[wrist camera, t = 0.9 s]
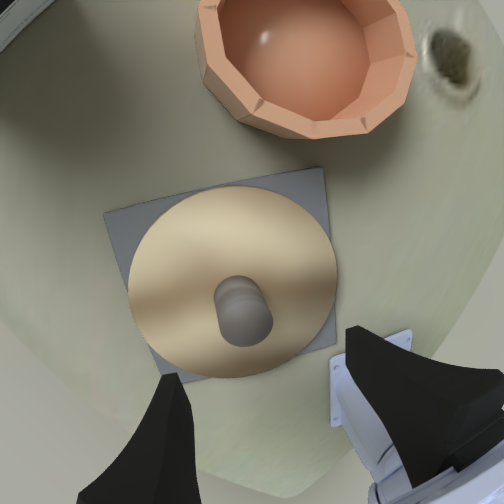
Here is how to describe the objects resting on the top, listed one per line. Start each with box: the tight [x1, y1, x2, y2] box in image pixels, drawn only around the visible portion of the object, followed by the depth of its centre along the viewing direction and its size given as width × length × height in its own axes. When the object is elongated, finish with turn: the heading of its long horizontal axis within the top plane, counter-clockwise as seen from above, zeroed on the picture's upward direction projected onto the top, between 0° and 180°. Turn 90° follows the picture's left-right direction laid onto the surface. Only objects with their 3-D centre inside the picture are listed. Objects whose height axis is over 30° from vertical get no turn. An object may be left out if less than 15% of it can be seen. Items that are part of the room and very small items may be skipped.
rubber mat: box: [103, 167, 336, 383], centre depth 20 cm, size 13×13×1 cm
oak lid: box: [128, 185, 337, 378], centre depth 18 cm, size 13×13×4 cm
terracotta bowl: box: [195, 0, 417, 139], centre depth 14 cm, size 11×11×4 cm
